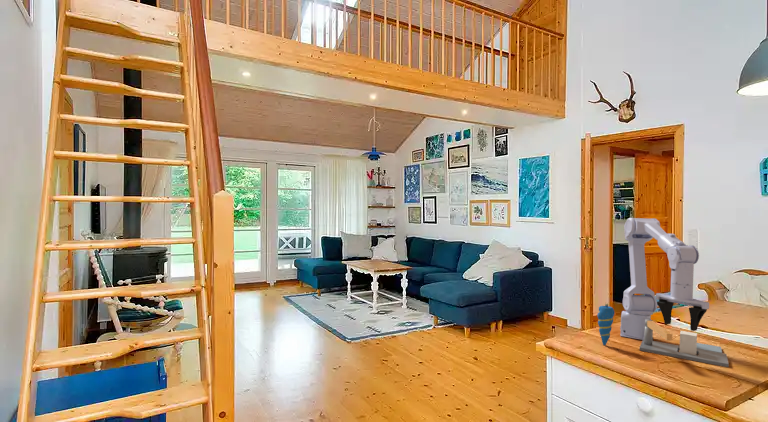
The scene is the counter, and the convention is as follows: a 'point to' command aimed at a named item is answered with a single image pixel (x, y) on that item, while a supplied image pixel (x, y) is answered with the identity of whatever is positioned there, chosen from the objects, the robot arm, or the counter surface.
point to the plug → (688, 342)
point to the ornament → (605, 322)
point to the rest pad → (709, 347)
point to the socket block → (672, 350)
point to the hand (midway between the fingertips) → (680, 327)
